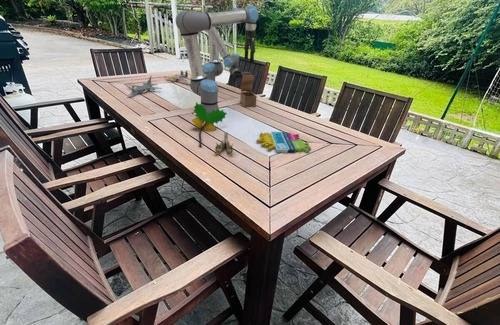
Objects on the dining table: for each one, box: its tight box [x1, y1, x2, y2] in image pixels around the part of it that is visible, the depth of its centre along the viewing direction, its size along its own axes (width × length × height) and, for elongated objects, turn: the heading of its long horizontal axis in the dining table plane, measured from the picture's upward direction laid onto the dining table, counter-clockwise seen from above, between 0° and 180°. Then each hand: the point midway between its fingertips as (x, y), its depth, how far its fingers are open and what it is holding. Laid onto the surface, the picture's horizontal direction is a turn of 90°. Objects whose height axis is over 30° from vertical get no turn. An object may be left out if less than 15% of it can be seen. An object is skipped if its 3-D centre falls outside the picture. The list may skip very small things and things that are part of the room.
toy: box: [163, 70, 189, 83], centre depth 276 cm, size 28×7×30 cm
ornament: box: [191, 102, 228, 132], centre depth 162 cm, size 21×8×15 cm, turn 105°
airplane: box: [127, 75, 162, 98], centre depth 225 cm, size 38×32×10 cm
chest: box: [239, 91, 258, 108], centre depth 212 cm, size 13×9×9 cm
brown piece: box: [240, 71, 255, 93], centre depth 213 cm, size 14×9×9 cm
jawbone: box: [214, 131, 234, 156], centre depth 136 cm, size 9×15×10 cm
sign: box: [256, 131, 312, 154], centre depth 152 cm, size 26×2×30 cm
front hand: (248, 61), depth 202 cm, fingers open, 13 cm apart
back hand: (243, 79), depth 221 cm, fingers open, 13 cm apart
